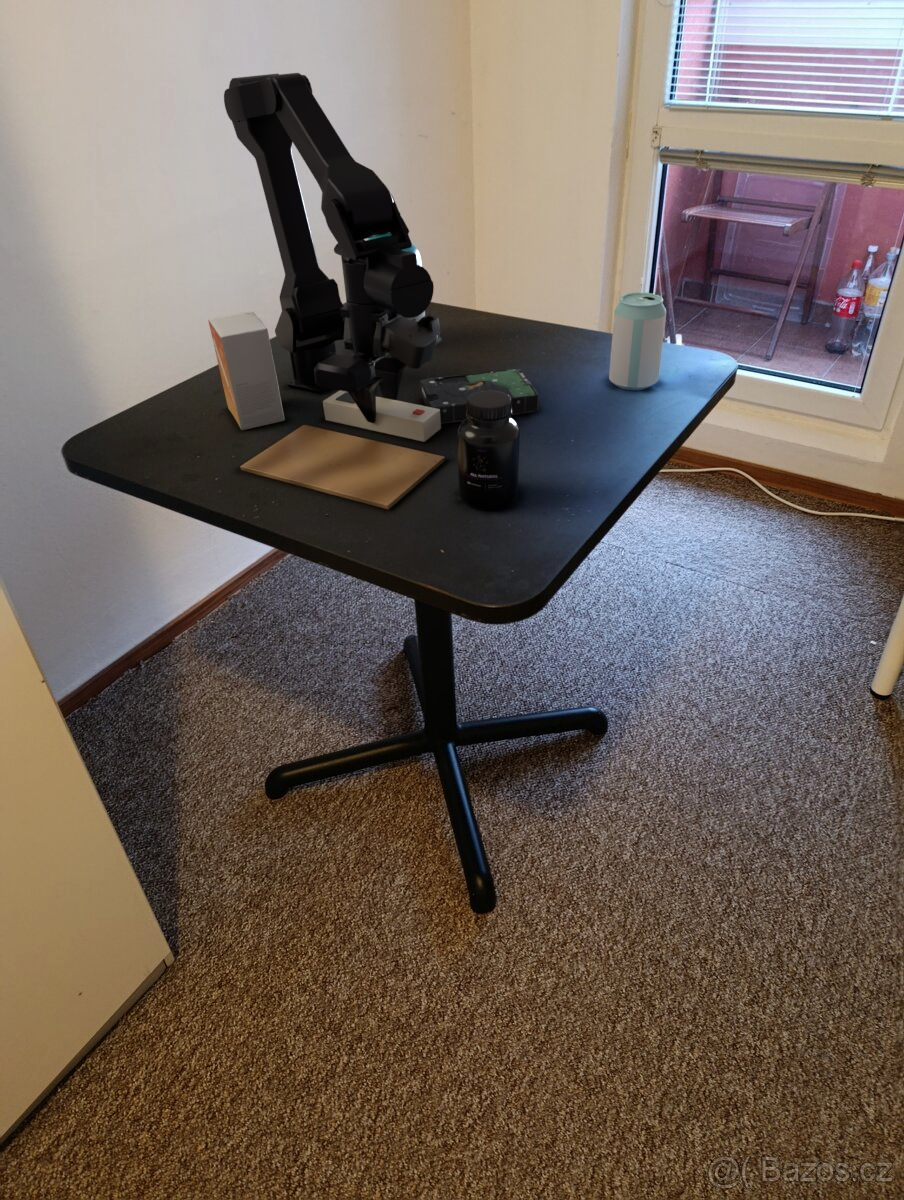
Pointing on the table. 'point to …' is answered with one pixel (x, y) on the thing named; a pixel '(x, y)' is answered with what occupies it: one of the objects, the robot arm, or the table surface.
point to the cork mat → (345, 465)
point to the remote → (385, 416)
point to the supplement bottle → (488, 452)
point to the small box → (247, 369)
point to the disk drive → (456, 390)
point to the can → (637, 341)
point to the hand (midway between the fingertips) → (381, 415)
